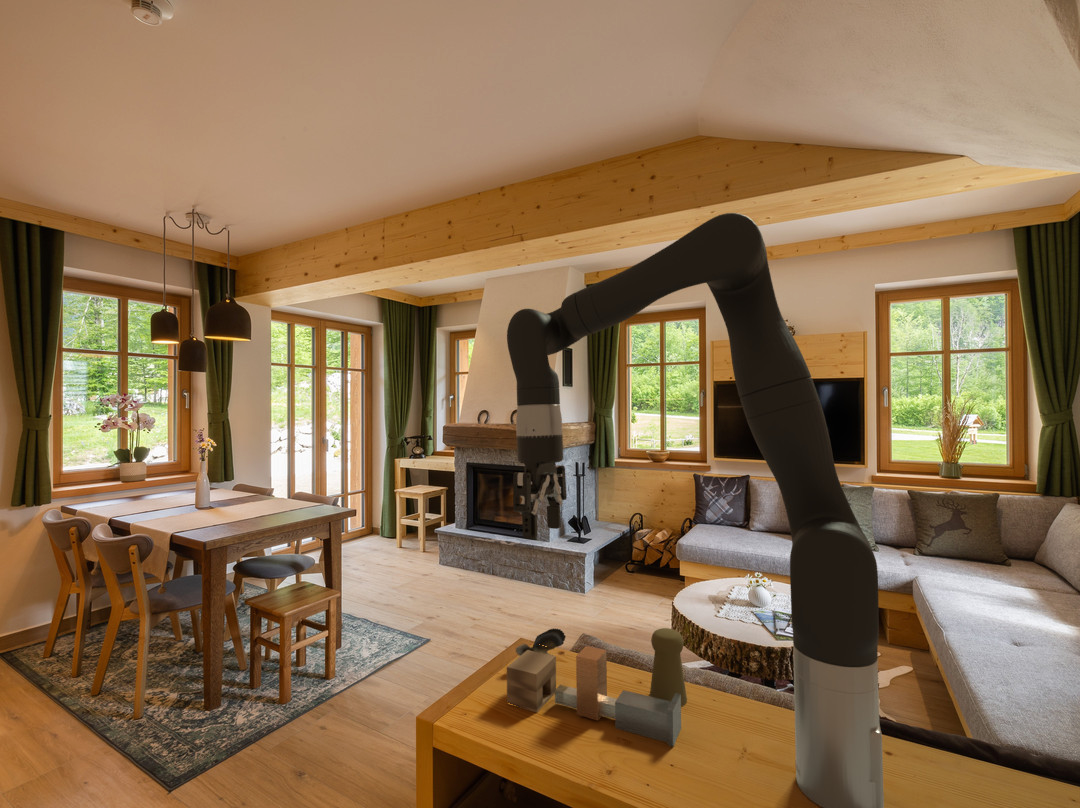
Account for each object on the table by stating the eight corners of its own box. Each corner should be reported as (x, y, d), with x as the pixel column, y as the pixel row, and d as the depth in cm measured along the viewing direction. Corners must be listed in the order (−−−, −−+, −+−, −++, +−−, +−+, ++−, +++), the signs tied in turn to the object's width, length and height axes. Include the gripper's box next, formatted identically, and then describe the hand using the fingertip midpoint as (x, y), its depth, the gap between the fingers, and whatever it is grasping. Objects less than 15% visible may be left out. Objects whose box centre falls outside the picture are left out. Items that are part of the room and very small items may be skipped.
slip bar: (671, 724, 79) (670, 663, 79) (665, 738, 75) (663, 675, 75) (563, 695, 87) (562, 641, 87) (552, 707, 83) (551, 650, 84)
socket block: (556, 691, 89) (555, 656, 89) (536, 712, 83) (536, 674, 83) (527, 684, 92) (527, 649, 92) (507, 704, 86) (506, 666, 86)
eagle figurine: (557, 675, 93) (574, 645, 101) (534, 640, 94) (553, 613, 102) (526, 689, 96) (546, 659, 104) (505, 655, 97) (526, 628, 105)
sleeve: (681, 728, 79) (680, 694, 79) (673, 746, 74) (672, 711, 74) (624, 713, 83) (624, 681, 83) (614, 730, 78) (613, 696, 78)
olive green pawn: (688, 710, 83) (687, 640, 84) (649, 706, 85) (648, 637, 85) (685, 690, 89) (684, 625, 90) (649, 687, 90) (648, 622, 91)
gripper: (539, 434, 78) (543, 544, 77) (577, 431, 90) (581, 526, 90) (496, 435, 81) (499, 540, 80) (539, 432, 94) (542, 523, 93)
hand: (542, 533), depth 85 cm, fingers open, 8 cm apart
